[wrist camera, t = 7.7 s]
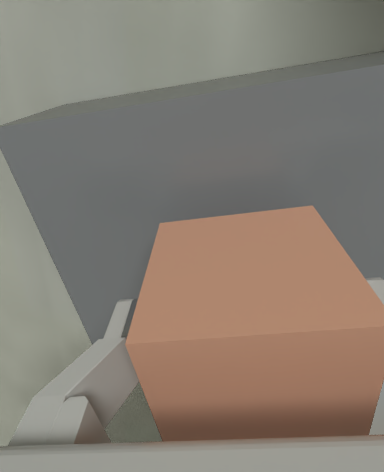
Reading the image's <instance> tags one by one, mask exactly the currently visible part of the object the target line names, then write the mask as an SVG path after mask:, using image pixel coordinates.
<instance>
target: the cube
mask: <svg viewBox="0 0 384 472" xmlns="http://www.w3.org/2000/svg"><path fill="white" fill-rule="evenodd" d="M125 345H126V348H127V351H128V353H129V356H130V358H131V361H132V363H133V366H134V369H135V371H136V374H137V376H138V379H139V381H140V384H141V387H142V389H143V392H144V394H145V397H146V399H147V402H148V405H149V407H150V410H151V412H152V415H153V417H154V420H155V423H156V425H157V428H158V430H159V433H160V435H161V438H162V441H196V440H227V439H259V438H290V437H323V436H355V435H369V432H370V428H371V425H372V421H373V417H374V413H375V409H376V406H377V402H378V399H379V395H380V391H381V388H382V384H383V380H384V304H383V303H382V302H381V300H380V299H379V297H378V296H377V295H376V293H375V292H374V290H373V289H372V288H371V286H370V285H369V283H368V282H367V281H366V279H365V278H364V276H363V275H362V274H361V272H360V271H359V269H358V268H357V267H356V265H355V264H354V262H353V261H352V260H351V258H350V257H349V255H348V254H347V253H346V251H345V250H344V248H343V247H342V246H341V244H340V243H339V241H338V240H337V239H336V237H335V236H334V234H333V233H332V232H331V230H330V229H329V227H328V226H327V225H326V223H325V222H324V220H323V219H322V218H321V216H320V215H319V213H318V212H317V211H316V209H315V208H314V206H313V205H312V206H303V207H294V208H286V209H277V210H268V211H260V212H251V213H243V214H234V215H225V216H217V217H208V218H199V219H191V220H182V221H173V222H165V223H160V224H159V228H158V231H157V235H156V238H155V242H154V245H153V249H152V252H151V256H150V259H149V263H148V266H147V270H146V273H145V277H144V280H143V283H142V287H141V290H140V294H139V297H138V301H137V304H136V308H135V311H134V315H133V318H132V322H131V325H130V329H129V332H128V336H127V339H126V343H125Z"/></svg>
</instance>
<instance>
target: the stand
mask: <svg viewBox="0 0 384 472" xmlns="http://www.w3.org/2000/svg"><path fill="white" fill-rule="evenodd" d="M0 149H1V151H2V153H3V155H4V157H5V159H6V161H7V163H8V166H9V168H10V170H11V172H12V174H13V176H14V178H15V181H16V183H17V185H18V187H19V189H20V191H21V193H22V195H23V198H24V200H25V202H26V204H27V206H28V208H29V210H30V213H31V215H32V217H33V219H34V221H35V223H36V225H37V227H38V230H39V232H40V234H41V236H42V238H43V240H44V242H45V245H46V247H47V249H48V251H49V253H50V255H51V257H52V259H53V262H54V264H55V266H56V268H57V270H58V272H59V274H60V277H61V279H62V281H63V283H64V285H65V287H66V289H67V291H68V294H69V296H70V298H71V300H72V302H73V304H74V306H75V308H76V311H77V313H78V315H79V317H80V319H81V321H82V323H83V326H84V328H85V330H86V332H87V334H88V336H89V338H90V340H91V343H92V345H93V344H94V343H95V342H96V341H97V340H98V339H103V338H104V335H105V333H106V330H107V327H108V324H109V322H110V319H111V316H112V314H113V311H114V308H115V306H116V303H117V302H118V301H119V300H126V299H137V298H138V297H139V294H140V290H141V287H142V283H143V280H144V277H145V273H146V270H147V266H148V263H149V259H150V256H151V252H152V249H153V245H154V242H155V238H156V235H157V231H158V228H159V224H160V223H165V222H173V221H182V220H191V219H199V218H208V217H217V216H225V215H234V214H243V213H251V212H260V211H268V210H277V209H286V208H294V207H303V206H312V205H313V206H314V208H315V209H316V211H317V212H318V213H319V215H320V216H321V218H322V219H323V220H324V222H325V223H326V225H327V226H328V227H329V229H330V230H331V232H332V233H333V234H334V236H335V237H336V239H337V240H338V241H339V243H340V244H341V246H342V247H343V248H344V250H345V251H346V253H347V254H348V255H349V257H350V258H351V260H352V261H353V262H354V264H355V265H356V267H357V268H358V269H359V271H360V272H361V274H362V275H363V276H364V278H365V279H367V278H377V277H380V278H382V279H383V280H384V51H382V52H376V53H370V54H364V55H358V56H352V57H347V58H341V59H335V60H329V61H323V62H317V63H311V64H305V65H299V66H293V67H287V68H281V69H275V70H269V71H263V72H257V73H251V74H245V75H239V76H233V77H227V78H221V79H215V80H209V81H203V82H197V83H191V84H185V85H179V86H174V87H168V88H162V89H156V90H150V91H144V92H138V93H132V94H126V95H120V96H114V97H108V98H102V99H96V100H90V101H84V102H78V103H72V104H66V105H61V106H58V107H55V108H52V109H49V110H46V111H43V112H40V113H37V114H34V115H31V116H28V117H25V118H22V119H18V120H15V121H12V122H9V123H6V124H3V125H0Z"/></svg>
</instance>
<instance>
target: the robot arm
mask: <svg viewBox="0 0 384 472" xmlns="http://www.w3.org/2000/svg"><path fill="white" fill-rule="evenodd" d="M366 281H367V282H368V283H369V285H370V286H371V288H372V289H373V290H374V292H375V293H376V295H377V296H378V297H379V299H380V300H381V302H382V303H383V304H384V280H383V279H382V278H380V277H377V278H367V279H366ZM137 301H138V298H137V299H126V300H119V301H118V302H117V303H116V306H115V308H114V311H113V314H112V316H111V319H110V322H109V324H108V327H107V330H106V333H105V335H104V338H103V339H98V340H97V341H96V342H95V343H94V344H93V345H92V346H90V347H89V348H88V349H87V350H86V351H85V352H84V353H82V354H81V355H80V356H79V357H78V358H77V359H76V360H75V361H73V362H72V363H71V364H70V365H69V366H68V367H67V368H65V369H64V370H63V371H62V372H61V373H60V374H59V375H58V376H56V377H55V378H54V379H53V380H52V381H51V382H50V383H48V384H47V385H46V386H45V387H44V388H43V389H42V390H41V391H39V392H38V393H37V394H36V395H35V396H34V397H33V398H32V400H31V402H30V404H29V406H28V408H27V410H26V412H25V413H24V415H23V417H22V419H21V421H20V423H19V425H18V427H17V429H16V431H15V433H14V435H13V437H12V439H11V441H10V442H9V444H8V446H0V472H384V435H355V436H323V437H290V438H259V439H227V440H196V441H163V442H131V443H111V441H110V439H109V437H108V436H107V434H106V432H105V430H104V429H105V428H106V426H107V425H108V424H109V422H110V421H111V419H112V418H113V417H114V415H115V414H116V413H117V411H118V410H119V409H120V407H121V406H122V404H123V403H124V402H125V400H126V399H127V398H128V396H129V395H130V393H131V392H132V391H133V389H134V388H135V387H136V385H137V384H138V382H139V379H138V376H137V374H136V371H135V369H134V366H133V363H132V361H131V358H130V356H129V353H128V351H127V348H126V345H125V343H126V339H127V336H128V332H129V329H130V325H131V322H132V318H133V315H134V311H135V308H136V304H137Z"/></svg>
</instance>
